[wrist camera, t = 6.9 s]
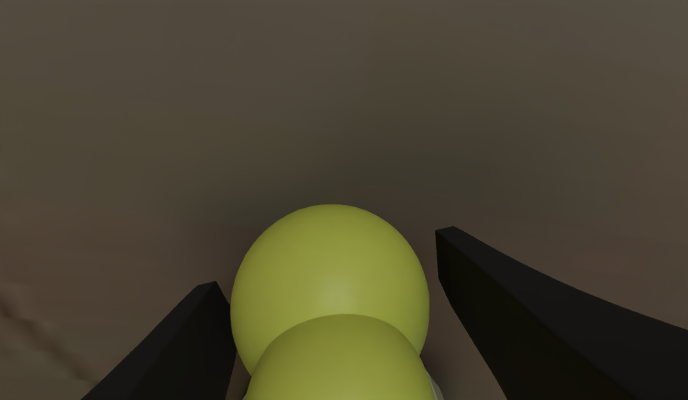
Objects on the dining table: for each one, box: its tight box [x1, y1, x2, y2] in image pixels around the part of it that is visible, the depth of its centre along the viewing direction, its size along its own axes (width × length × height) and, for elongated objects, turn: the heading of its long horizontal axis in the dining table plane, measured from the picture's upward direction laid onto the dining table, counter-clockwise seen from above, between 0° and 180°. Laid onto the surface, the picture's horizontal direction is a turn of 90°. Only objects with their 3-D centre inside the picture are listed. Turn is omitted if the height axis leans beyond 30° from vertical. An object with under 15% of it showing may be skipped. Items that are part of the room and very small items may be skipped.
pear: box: [230, 204, 435, 400], centre depth 7 cm, size 6×6×9 cm
